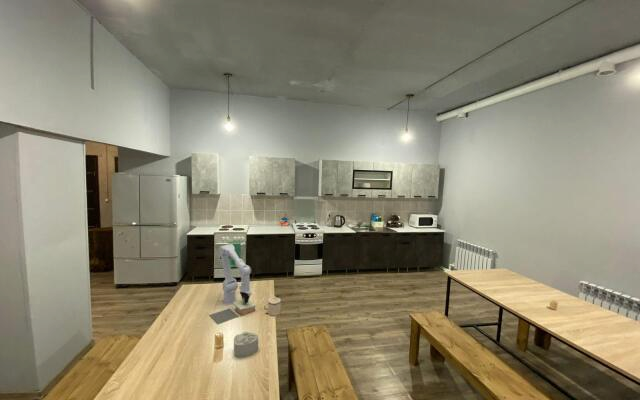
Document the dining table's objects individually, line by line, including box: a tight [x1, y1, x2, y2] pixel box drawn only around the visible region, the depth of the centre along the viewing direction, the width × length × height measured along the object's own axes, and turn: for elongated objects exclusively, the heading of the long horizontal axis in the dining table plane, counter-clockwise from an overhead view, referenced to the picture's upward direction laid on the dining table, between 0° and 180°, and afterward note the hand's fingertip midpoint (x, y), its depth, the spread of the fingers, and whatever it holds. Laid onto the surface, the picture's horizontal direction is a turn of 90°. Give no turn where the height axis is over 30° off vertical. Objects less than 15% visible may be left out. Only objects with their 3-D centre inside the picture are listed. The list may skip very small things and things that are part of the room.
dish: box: [235, 306, 256, 316], centre depth 194 cm, size 10×10×4 cm
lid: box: [232, 297, 257, 310], centre depth 193 cm, size 12×12×5 cm
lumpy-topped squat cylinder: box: [233, 331, 259, 358], centre depth 151 cm, size 10×13×9 cm
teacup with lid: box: [263, 296, 282, 316], centre depth 192 cm, size 12×9×12 cm
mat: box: [208, 307, 240, 325], centre depth 186 cm, size 15×15×1 cm
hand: (245, 301), depth 194 cm, fingers closed on lid, 3 cm apart
